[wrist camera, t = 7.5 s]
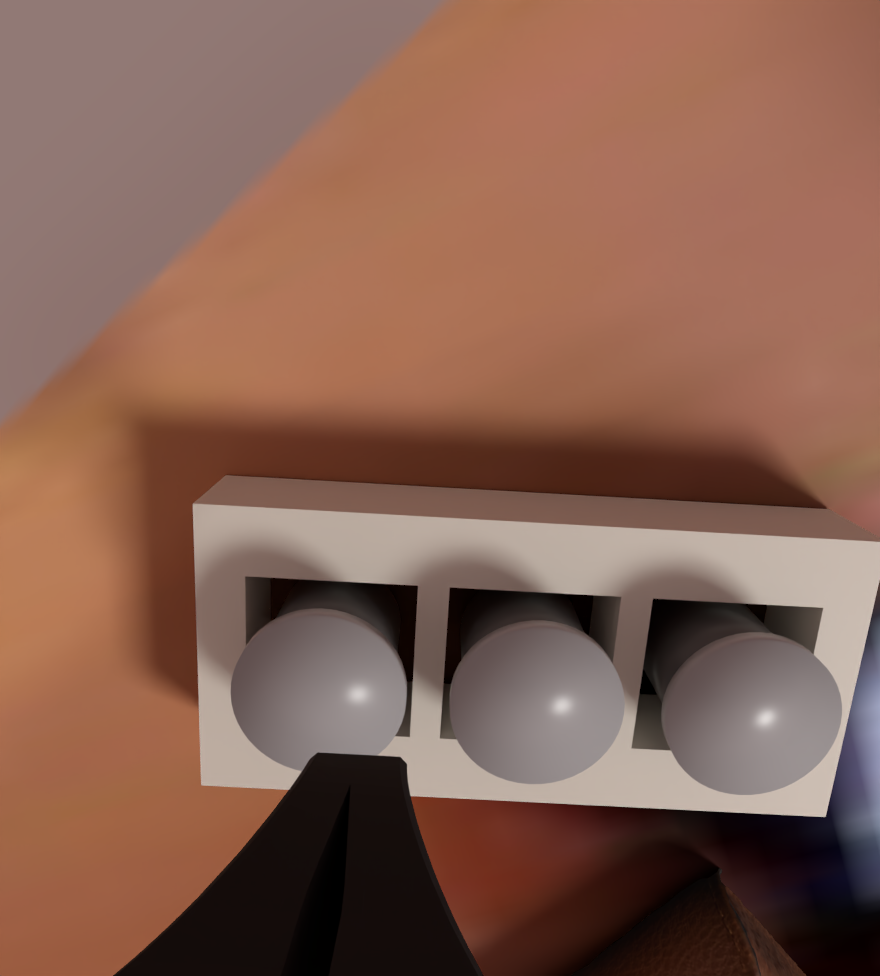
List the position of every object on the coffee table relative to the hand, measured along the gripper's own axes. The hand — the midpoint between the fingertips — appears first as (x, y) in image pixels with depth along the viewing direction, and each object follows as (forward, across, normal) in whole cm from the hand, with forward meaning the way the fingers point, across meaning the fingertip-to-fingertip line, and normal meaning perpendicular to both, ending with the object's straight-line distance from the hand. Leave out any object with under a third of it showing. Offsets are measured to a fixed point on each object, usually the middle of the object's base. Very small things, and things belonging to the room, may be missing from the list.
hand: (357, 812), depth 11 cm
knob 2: (+8, -8, +1) cm, 11 cm away
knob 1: (+8, +1, +1) cm, 8 cm away
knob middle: (+8, -3, +1) cm, 9 cm away
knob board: (+8, -3, +1) cm, 9 cm away
